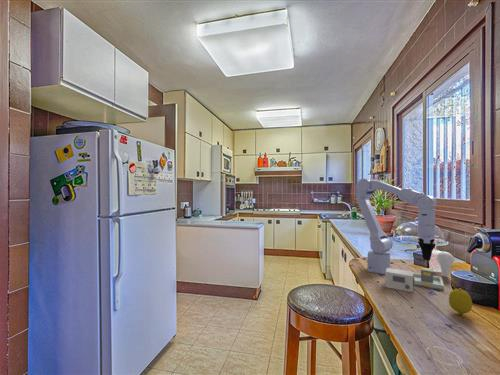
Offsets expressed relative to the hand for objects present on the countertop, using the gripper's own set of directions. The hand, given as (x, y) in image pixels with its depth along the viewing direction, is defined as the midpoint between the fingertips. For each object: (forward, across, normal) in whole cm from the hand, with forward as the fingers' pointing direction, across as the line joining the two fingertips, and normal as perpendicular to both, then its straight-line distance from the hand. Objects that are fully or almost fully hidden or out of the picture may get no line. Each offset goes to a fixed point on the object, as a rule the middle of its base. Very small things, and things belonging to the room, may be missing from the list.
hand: (426, 257), depth 102 cm
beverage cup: (+11, +21, -4) cm, 24 cm away
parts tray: (+10, 0, 0) cm, 10 cm away
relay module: (+10, 0, 0) cm, 10 cm away
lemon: (+10, -25, -8) cm, 28 cm away
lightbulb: (+11, +13, -7) cm, 18 cm away
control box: (+10, -11, +9) cm, 18 cm away
